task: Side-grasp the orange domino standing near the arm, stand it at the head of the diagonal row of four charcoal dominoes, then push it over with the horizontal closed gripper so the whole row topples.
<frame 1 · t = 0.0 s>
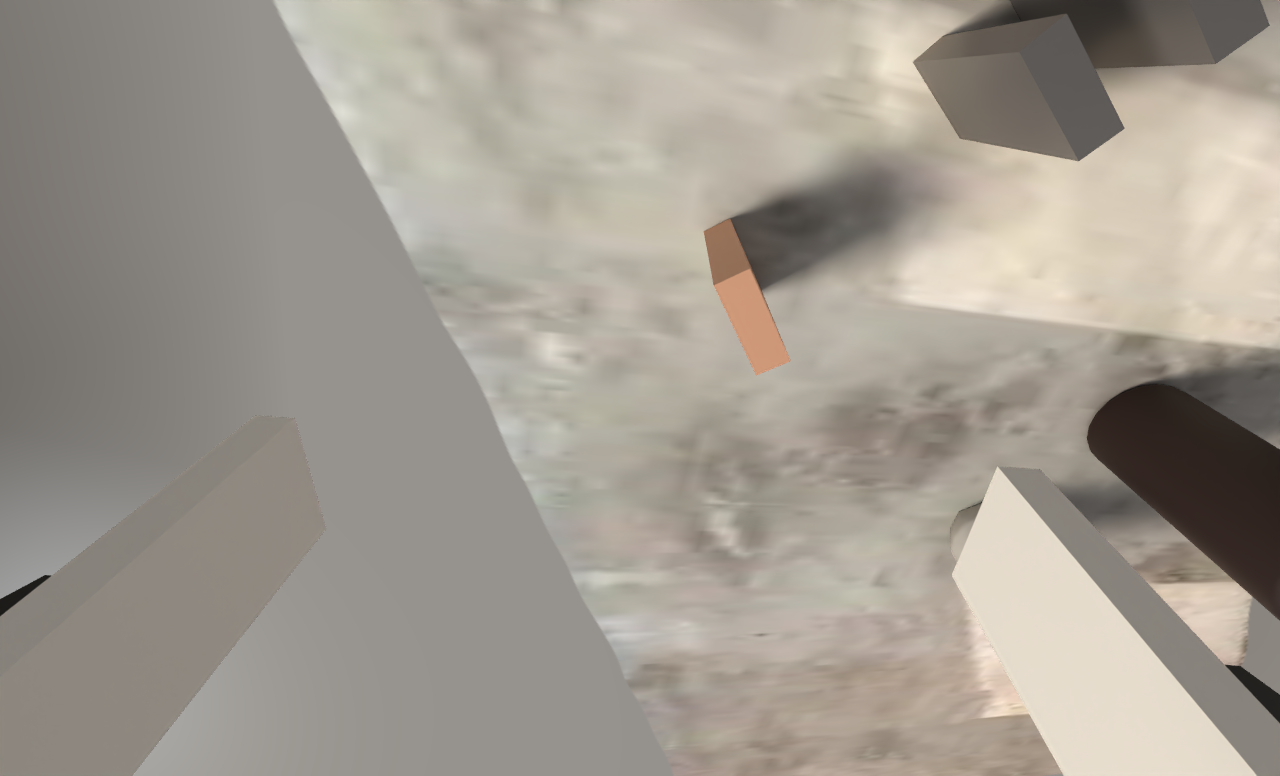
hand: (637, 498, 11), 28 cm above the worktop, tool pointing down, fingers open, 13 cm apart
vinegar: (1133, 422, 41), on the worktop
domino 1: (951, 89, 32), on the worktop
orange domino: (733, 261, 37), on the worktop
salt shaker: (976, 521, 46), on the worktop
domino 2: (1042, 15, 30), on the worktop
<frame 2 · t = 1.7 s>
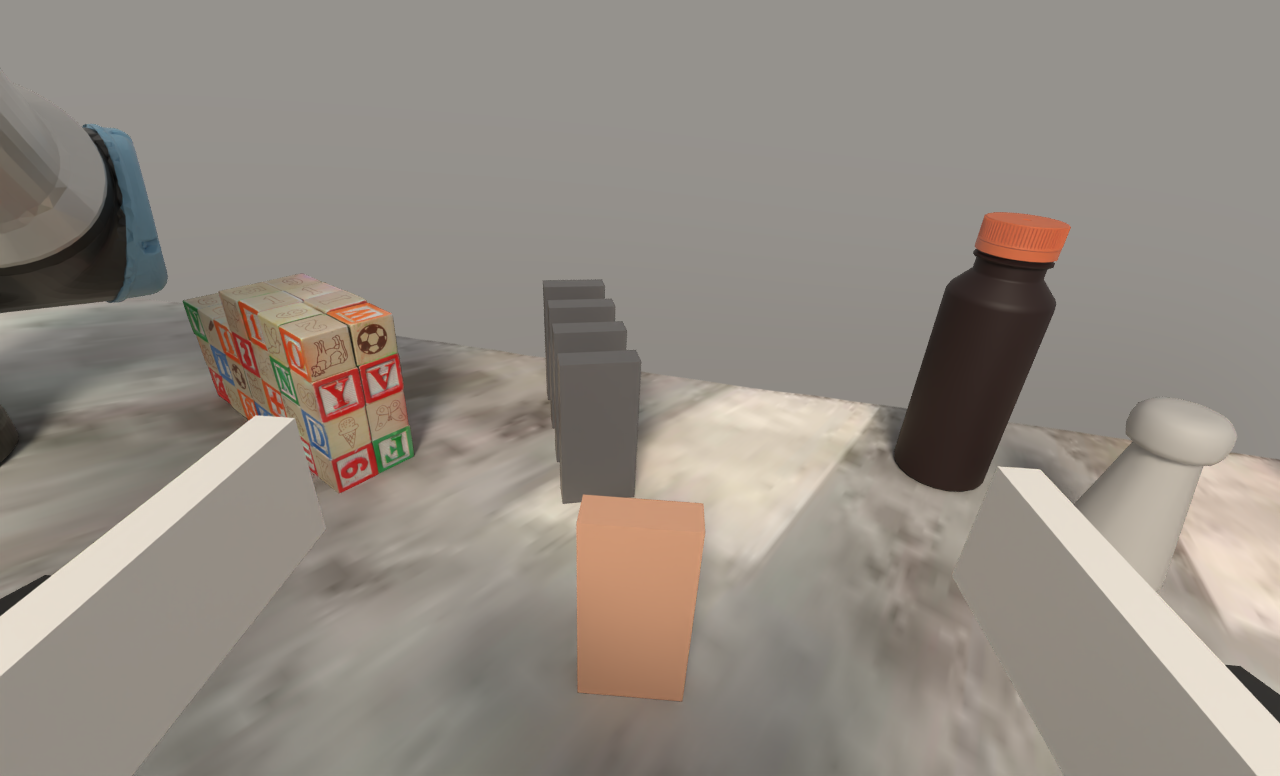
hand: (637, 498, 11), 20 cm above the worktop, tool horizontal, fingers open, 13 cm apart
vinegar: (935, 469, 47), on the worktop
domino 1: (597, 492, 42), on the worktop
orange domino: (631, 680, 29), on the worktop
salt shaker: (1084, 587, 36), on the worktop
domino 2: (588, 452, 46), on the worktop
domino 4: (574, 393, 55), on the worktop
stack of blocks: (310, 427, 48), on the worktop
domino 3: (581, 420, 51), on the worktop
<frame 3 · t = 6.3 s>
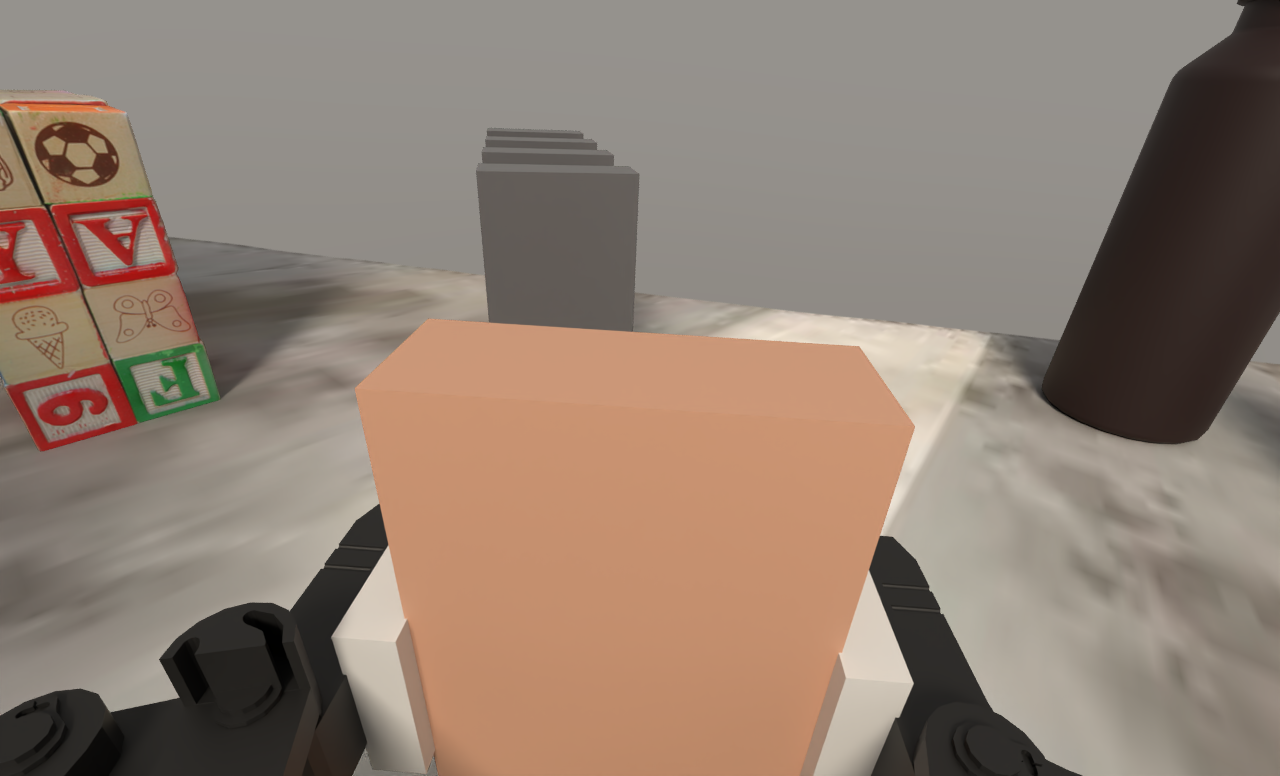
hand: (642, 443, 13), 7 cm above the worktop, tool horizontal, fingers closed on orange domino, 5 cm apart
vinegar: (1114, 413, 29), on the worktop
domino 1: (563, 443, 24), on the worktop
domino 2: (554, 386, 29), on the worktop
domino 4: (542, 315, 37), on the worktop
stack of blocks: (96, 352, 30), on the worktop
domino 3: (548, 346, 33), on the worktop
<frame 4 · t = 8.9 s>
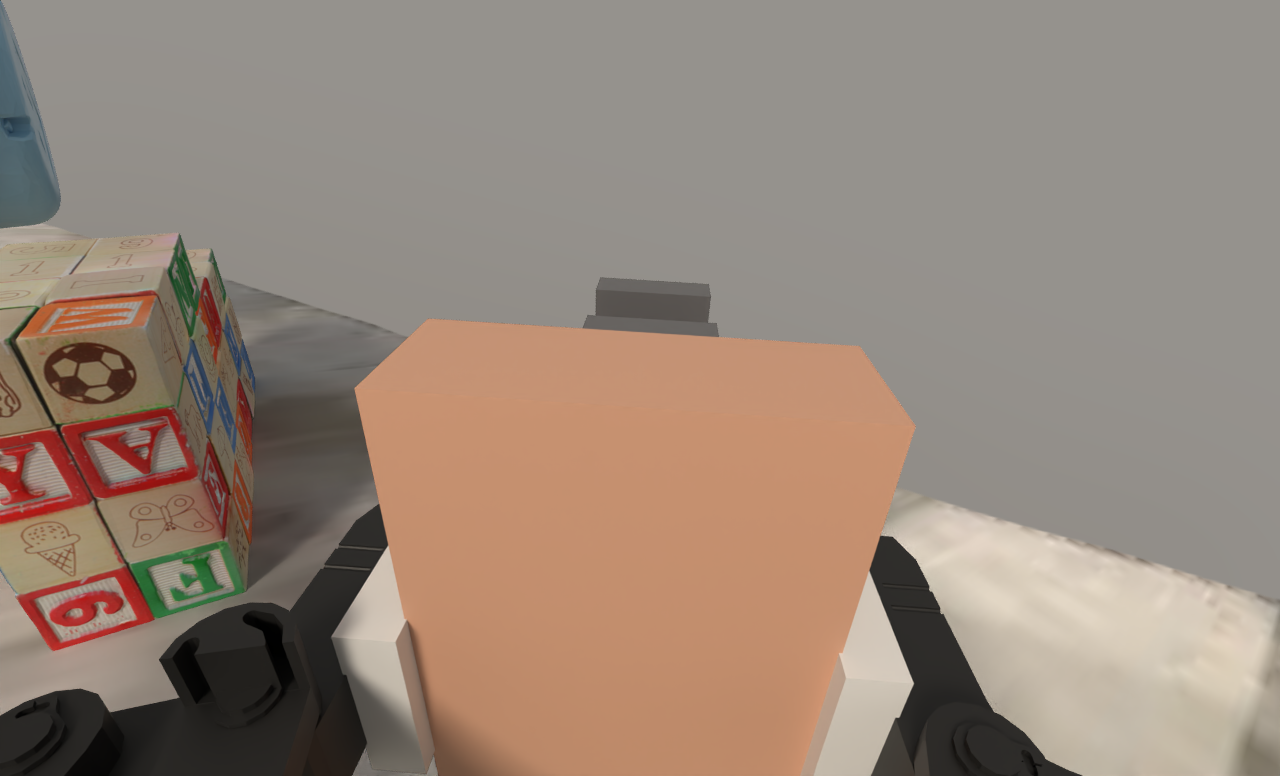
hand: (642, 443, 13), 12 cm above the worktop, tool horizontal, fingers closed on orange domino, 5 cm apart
domino 4: (642, 476, 32), on the worktop
stack of blocks: (187, 478, 30), on the worktop
domino 3: (638, 540, 27), on the worktop
when the fingers open (8 cm above the worktop, at t = 9.7 s): orange domino stays where it is, on the worktop.
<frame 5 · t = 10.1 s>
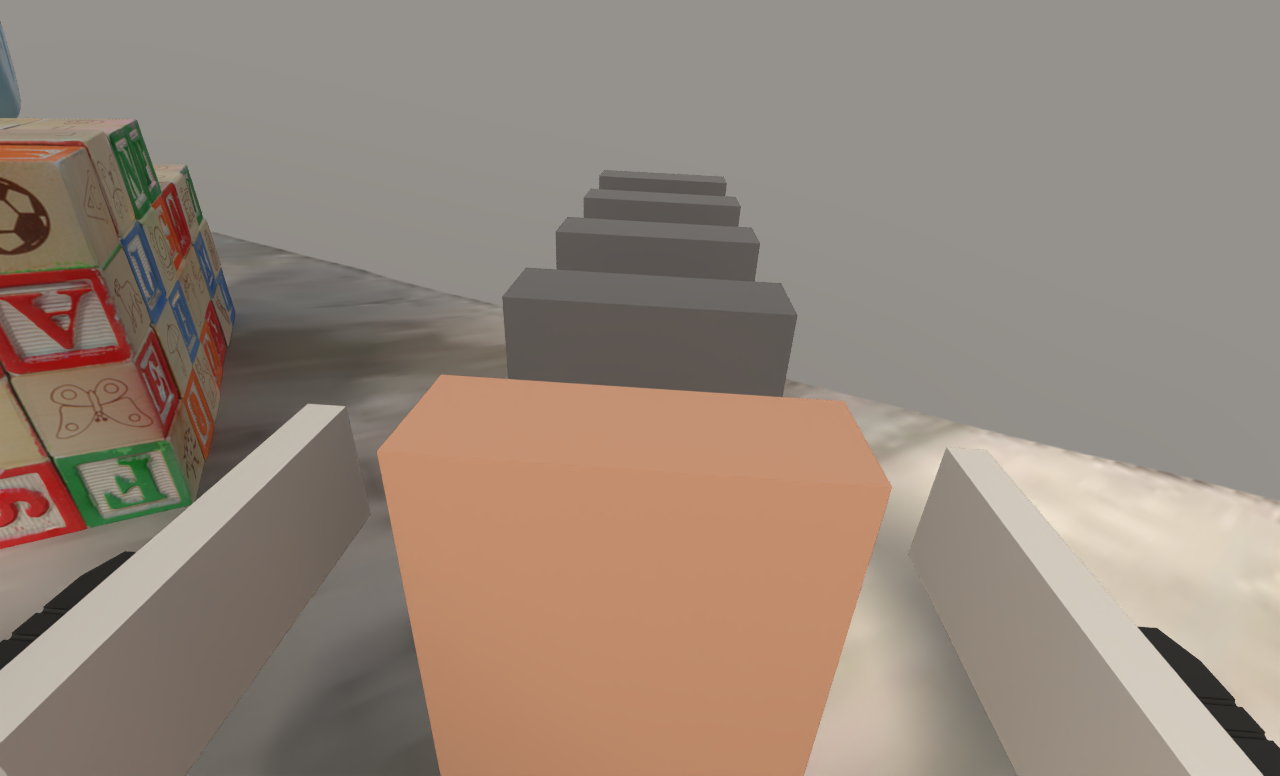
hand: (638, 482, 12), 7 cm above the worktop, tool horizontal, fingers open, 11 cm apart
domino 1: (629, 665, 16), on the worktop
domino 2: (640, 539, 20), on the worktop
domino 4: (649, 402, 29), on the worktop
stack of blocks: (149, 399, 28), on the worktop
domino 3: (646, 459, 25), on the worktop
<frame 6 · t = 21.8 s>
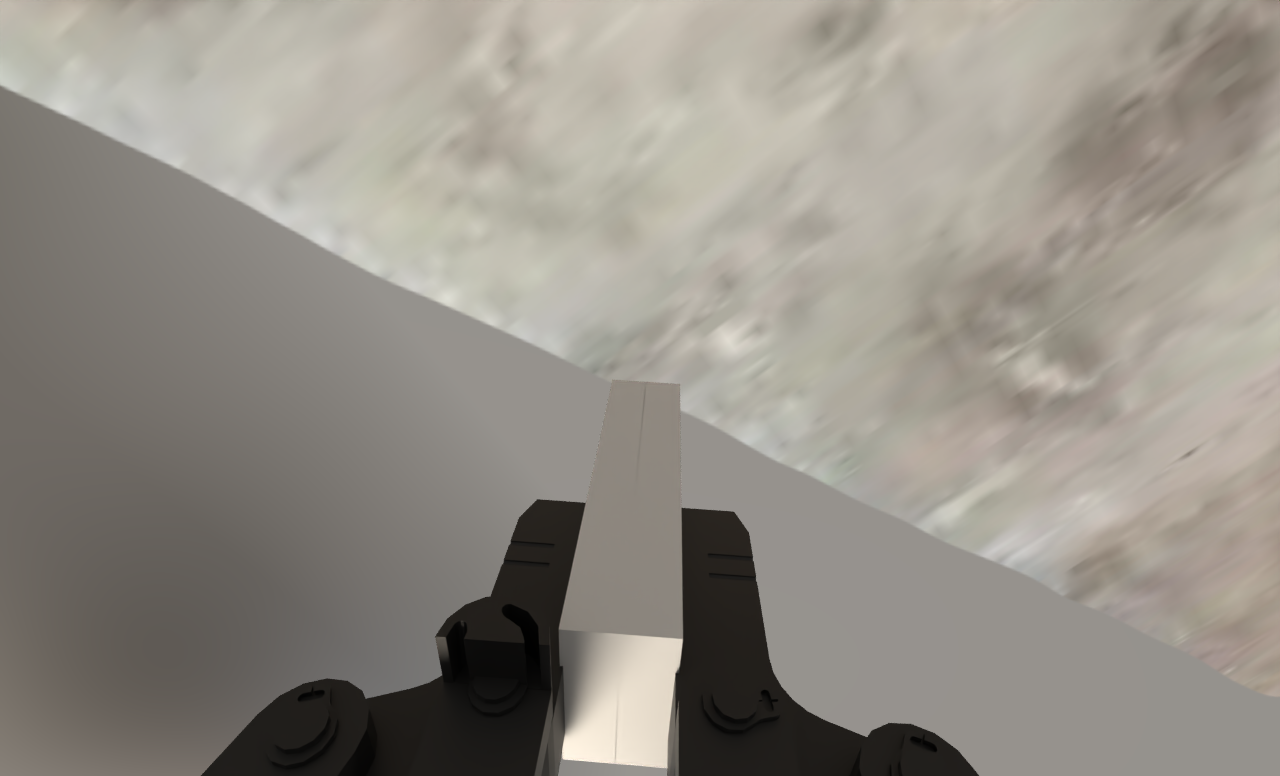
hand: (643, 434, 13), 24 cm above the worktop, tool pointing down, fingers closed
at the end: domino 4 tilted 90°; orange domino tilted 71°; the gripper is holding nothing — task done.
